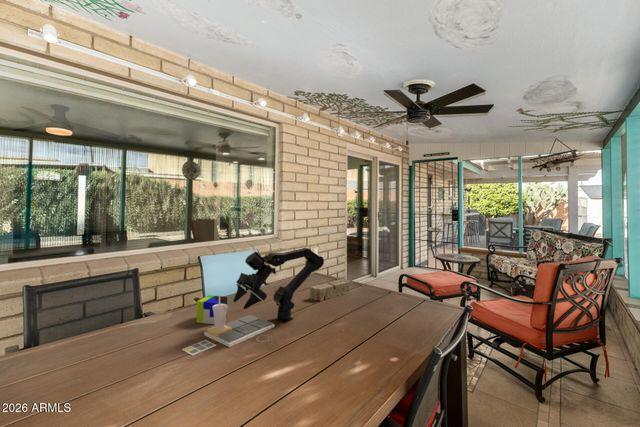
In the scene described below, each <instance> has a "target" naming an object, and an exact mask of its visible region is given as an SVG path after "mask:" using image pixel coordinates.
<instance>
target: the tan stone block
mask: <svg viewBox="0 0 640 427" xmlns="http://www.w3.org/2000/svg"><path fill="white" fill-rule="evenodd" d="M350 285H351V280H347V279H337V280H334V281H330V282H328V283H327V282H325V283H322V284H317V285H313V286H309V299H310V298H311V299H310V300H312V299H314V300H313V301H315V300H317V301H318V300H320V301H319V302H322V301H321V300H324V299H327V298H330V297H334V296H337V295H340V294H344V293H347V292H350ZM334 298H335V297H334ZM330 299H331V298H330ZM327 300H328V299H327Z"/></svg>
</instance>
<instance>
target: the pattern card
mask: <svg viewBox="0 0 640 427" xmlns="http://www.w3.org/2000/svg"><path fill="white" fill-rule="evenodd" d="M216 346H217V344H215V343H212V342H210V341H209V340H207V339H205V340H202V341H199V342H197V343H194V344H192V345H190V346H187V347H184V348H182V349H181V350H182V351H183V352H184V353H187V354H189V355H190V356H192V357H193V356H196V355H198V354H200V353H202V352H204V351H205V352H206V351H207V350H209V349H211V348H214V347H216Z"/></svg>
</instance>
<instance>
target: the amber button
mask: <svg viewBox="0 0 640 427" xmlns="http://www.w3.org/2000/svg"><path fill="white" fill-rule="evenodd" d="M206 330H207V331H206V332H207V333H208V334H211V335H213V336H215V337H217V338H218V337H219V335H222V334H224V333H227V332H229V331H232V328H231V327H228V326H226V325H225V328H224V329H223V330H216V329H215V325H214V326H212V327H209V328H207V329H206Z"/></svg>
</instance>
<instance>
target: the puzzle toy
mask: <svg viewBox="0 0 640 427" xmlns="http://www.w3.org/2000/svg"><path fill="white" fill-rule="evenodd" d="M219 296H220V304H227V305H228V296H222V295H209V294H208V295H207V296H205V297H203V298H200V299H199V300H197V301H196V323H200V324H208V325H209V324H210V325H215V321H214V312H213V306H214V305H216V304H219ZM227 317H228V313H227V314H226V318H227Z"/></svg>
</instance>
